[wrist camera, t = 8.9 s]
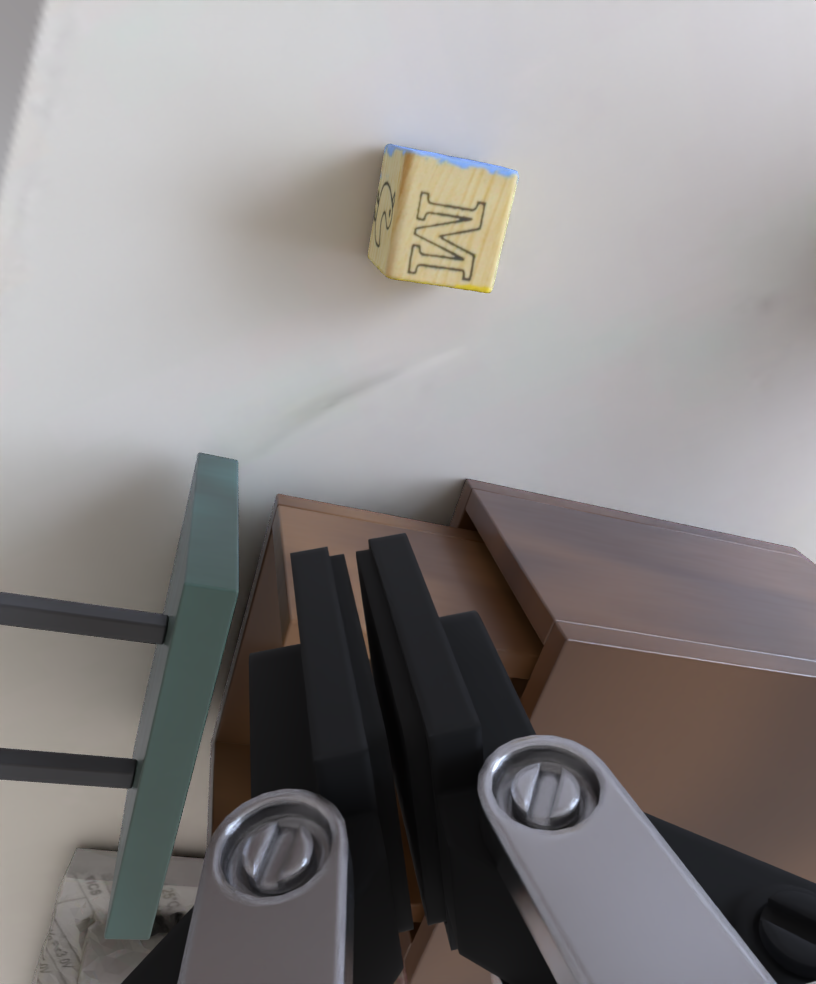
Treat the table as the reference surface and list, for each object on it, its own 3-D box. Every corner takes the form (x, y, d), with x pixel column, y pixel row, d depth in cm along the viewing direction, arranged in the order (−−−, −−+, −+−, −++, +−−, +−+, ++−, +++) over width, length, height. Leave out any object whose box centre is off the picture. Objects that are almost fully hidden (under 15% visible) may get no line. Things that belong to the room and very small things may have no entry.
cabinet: (363, 759, 31) (408, 987, 23) (466, 477, 26) (566, 639, 18) (661, 786, 35) (787, 986, 27) (794, 547, 30) (994, 703, 22)
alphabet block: (488, 163, 22) (523, 170, 19) (465, 274, 23) (495, 296, 21) (383, 142, 21) (404, 146, 19) (365, 258, 22) (382, 278, 20)
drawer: (-39, 729, 26) (-132, 936, 19) (-5, 410, 21) (-109, 539, 15) (472, 774, 31) (533, 946, 25) (579, 527, 27) (686, 658, 21)
